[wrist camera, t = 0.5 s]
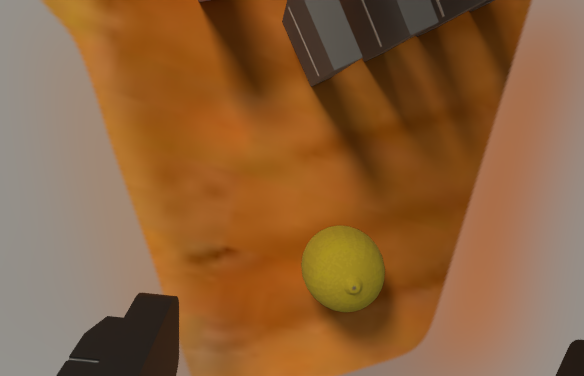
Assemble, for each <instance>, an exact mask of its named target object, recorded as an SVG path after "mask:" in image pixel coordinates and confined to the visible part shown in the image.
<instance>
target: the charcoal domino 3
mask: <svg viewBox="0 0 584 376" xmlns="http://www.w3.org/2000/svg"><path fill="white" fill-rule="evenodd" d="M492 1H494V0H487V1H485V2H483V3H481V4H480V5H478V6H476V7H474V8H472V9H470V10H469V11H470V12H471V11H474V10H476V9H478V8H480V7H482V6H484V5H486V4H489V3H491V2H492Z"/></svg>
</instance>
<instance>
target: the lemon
mask: <svg viewBox="0 0 584 376" xmlns="http://www.w3.org/2000/svg"><path fill="white" fill-rule="evenodd" d="M301 266H302V276H303V279H304V281H305V284H306V286H307V288H308V290H309V291H310V292H311V294H312V295H313V297H314V298H315V299H316V300H318V301H319V302H320V303H321V304H322V305H324V306H326V307H328V308H330V309H332V310H334V311H340V312H354V311H357V310H360V309H363V308H365V307H366V306H368V305H370V304H371V303H372V302H373V301H374V300H375V299H376V298H377V296H378V294H379V293H380V291H381V289H382V286H383V283H384V275H385V267H384V262H383V258H382V255H381V253H380V251H379V249H378V247H377V245H376V244H375V243H374V242H373V241H372V240H371V238H370V237H369V236H368V235H366V234H365V233H363V232H361V231H360V230H358V229H355V228H352V227H349V226H339V225H338V226H333V227H328V228H326V229H324V230H321V231H320V232H318V233H317V234H316V235H315V236H313V237H312V239H311V240H310V241H309V243H308V244H307V246H306V248H305V250H304V253H303V257H302V263H301Z"/></svg>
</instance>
